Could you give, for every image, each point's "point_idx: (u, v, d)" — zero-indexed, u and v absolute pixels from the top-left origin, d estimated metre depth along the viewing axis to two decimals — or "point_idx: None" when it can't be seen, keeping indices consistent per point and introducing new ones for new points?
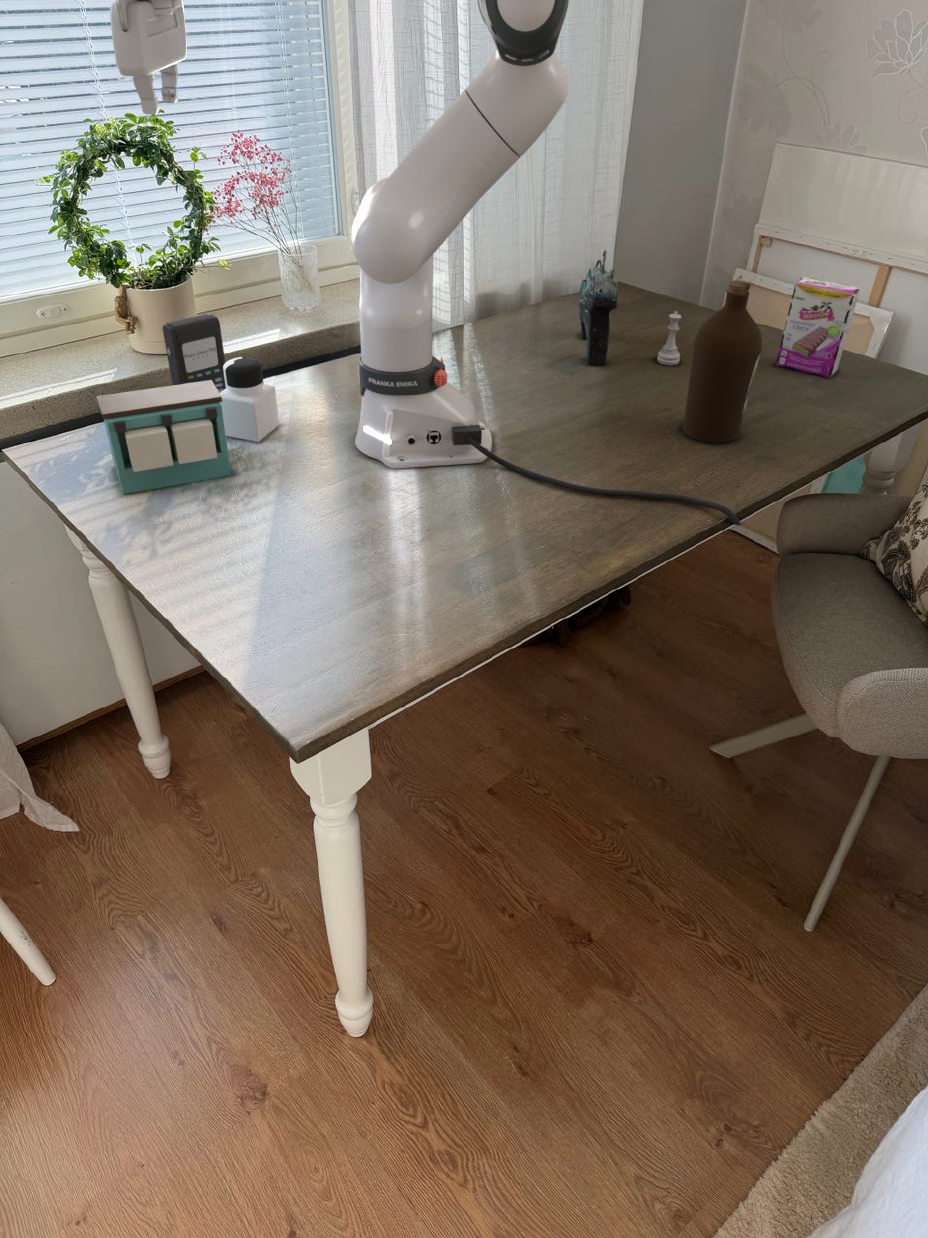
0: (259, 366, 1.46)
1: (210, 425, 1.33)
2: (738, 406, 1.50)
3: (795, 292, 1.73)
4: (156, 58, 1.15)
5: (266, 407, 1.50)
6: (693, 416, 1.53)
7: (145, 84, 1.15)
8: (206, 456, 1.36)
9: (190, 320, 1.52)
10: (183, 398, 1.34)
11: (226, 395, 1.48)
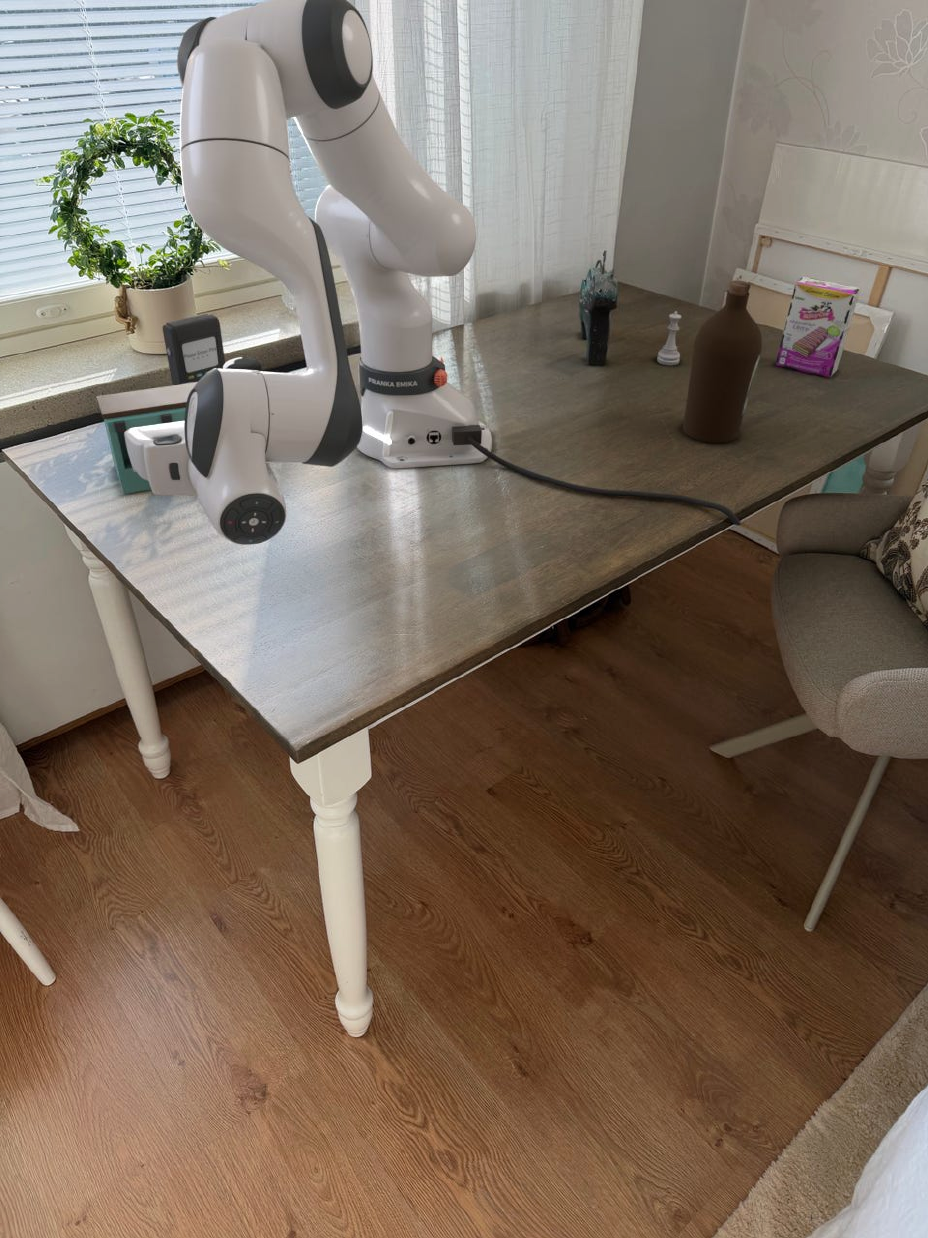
0: (259, 366, 1.46)
1: None
2: (738, 406, 1.50)
3: (795, 292, 1.73)
4: None
5: None
6: (693, 416, 1.53)
7: None
8: None
9: (190, 320, 1.52)
10: (183, 398, 1.34)
11: None
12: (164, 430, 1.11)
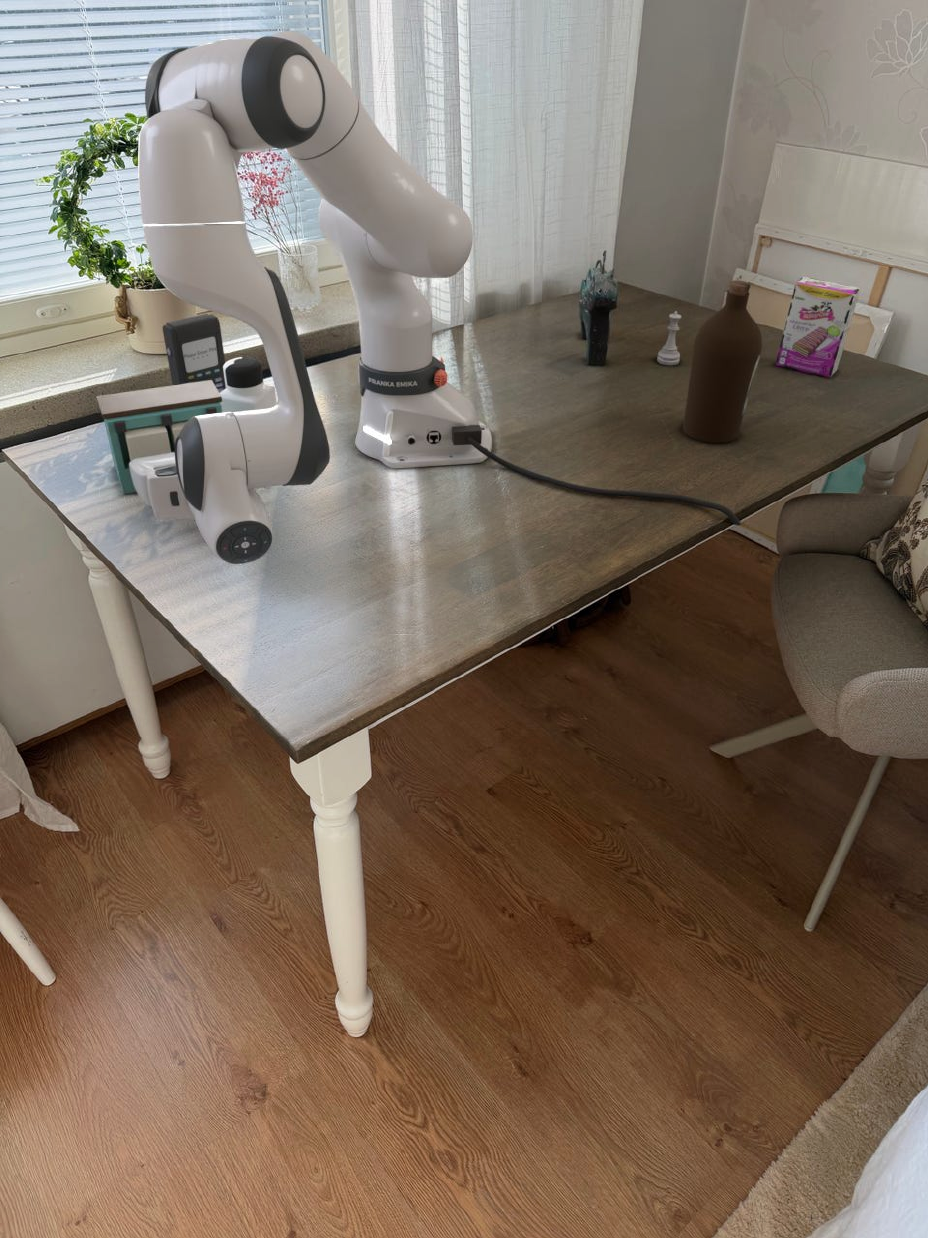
0: (259, 366, 1.46)
1: None
2: (738, 406, 1.50)
3: (795, 292, 1.73)
4: None
5: (266, 407, 1.50)
6: (693, 416, 1.53)
7: None
8: None
9: (190, 320, 1.52)
10: (183, 398, 1.34)
11: (226, 395, 1.48)
12: (164, 460, 1.26)
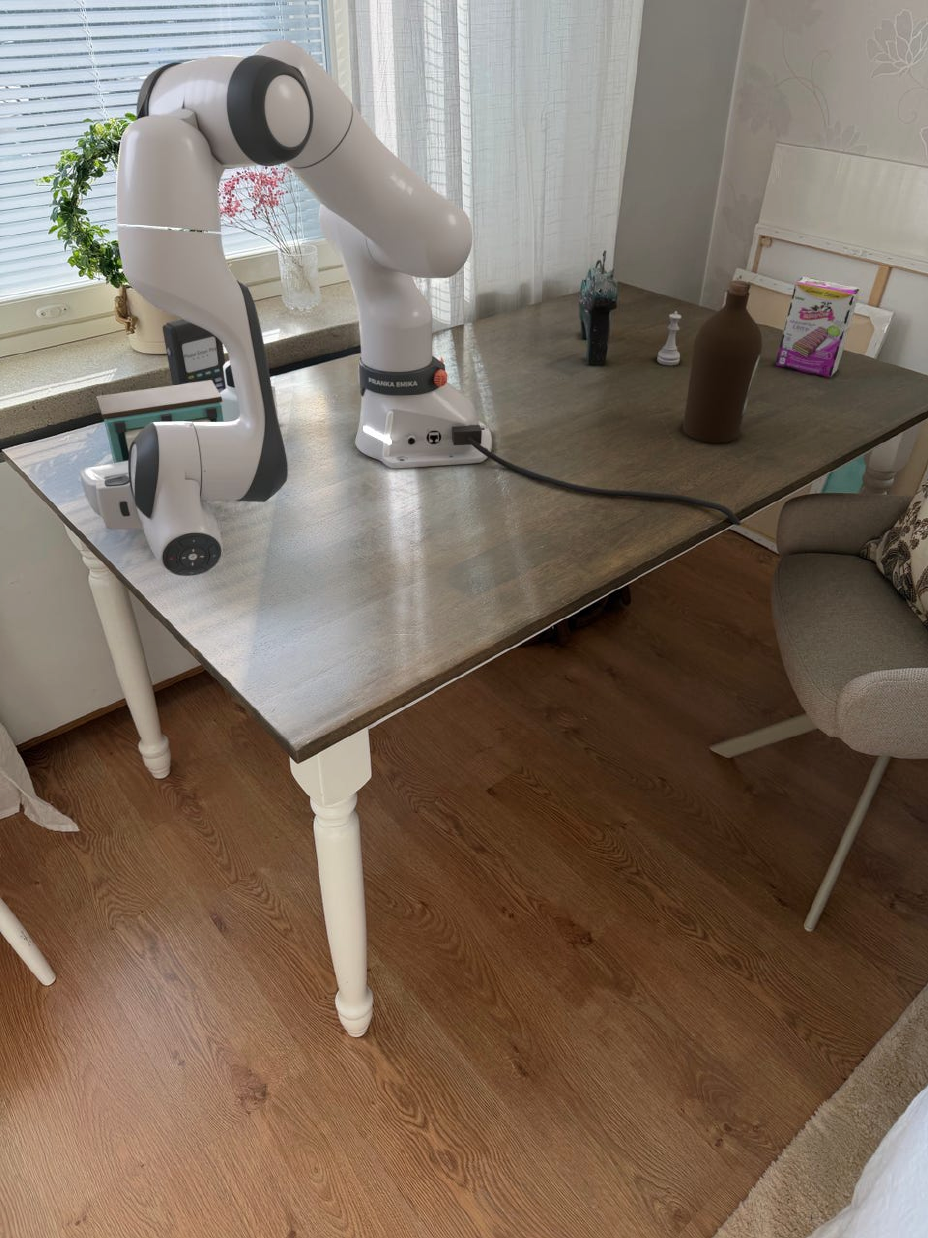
0: None
1: None
2: (738, 406, 1.50)
3: (795, 292, 1.73)
4: None
5: None
6: (693, 416, 1.53)
7: None
8: None
9: None
10: (183, 398, 1.34)
11: (226, 395, 1.48)
12: (116, 469, 1.24)
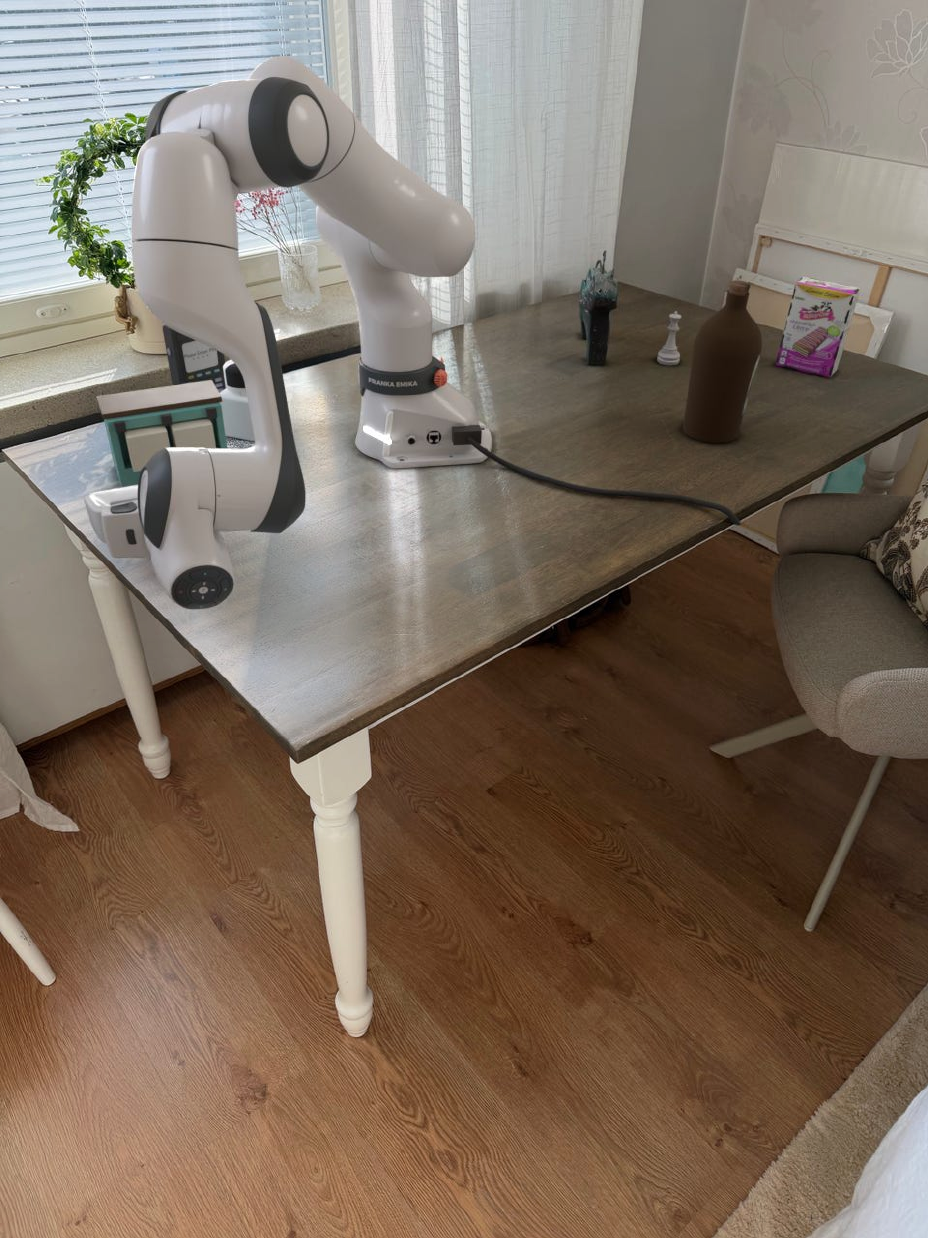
0: None
1: (210, 425, 1.33)
2: (738, 406, 1.50)
3: (795, 292, 1.73)
4: None
5: None
6: (693, 416, 1.53)
7: None
8: None
9: None
10: (183, 398, 1.34)
11: (226, 395, 1.48)
12: (122, 495, 1.18)
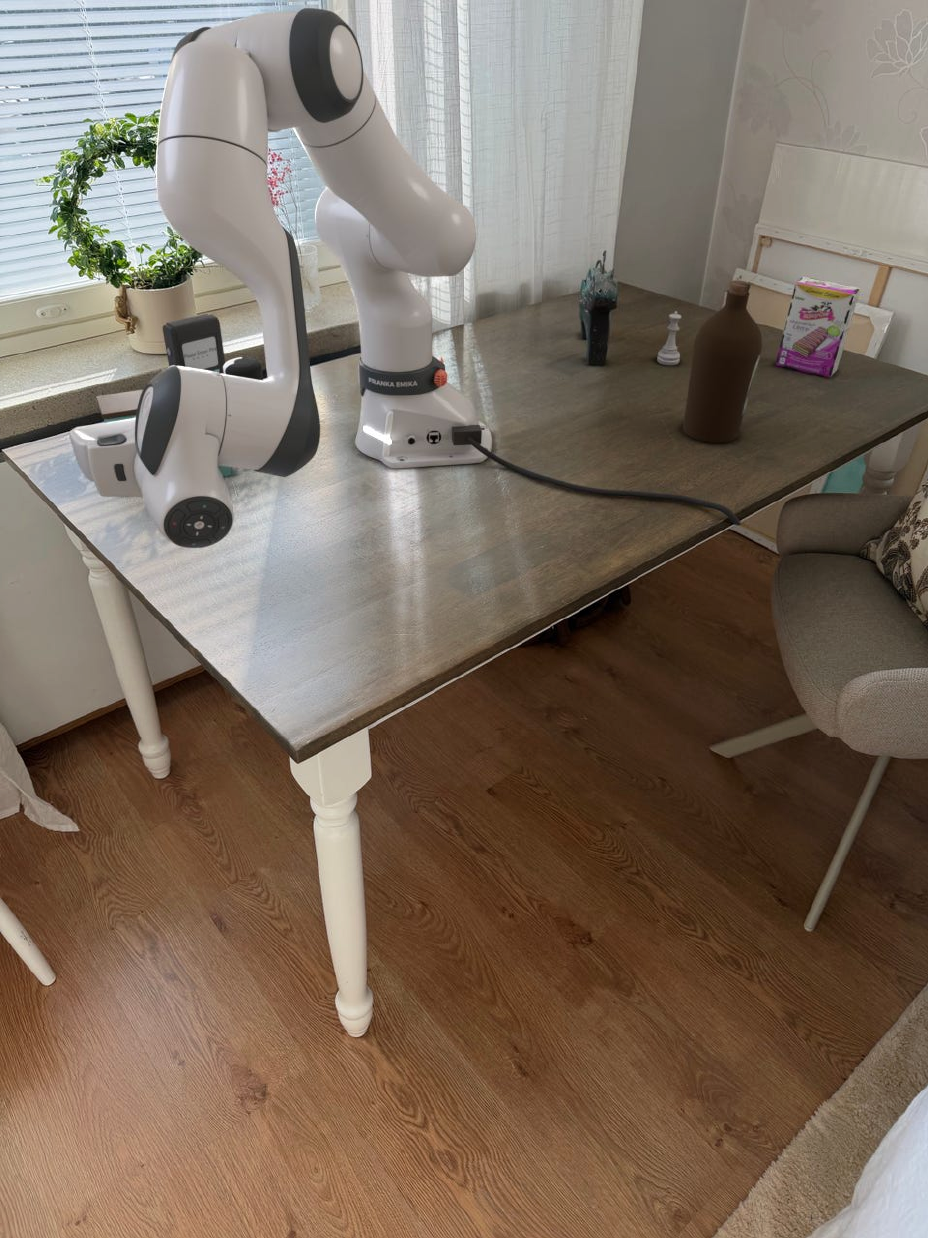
0: (259, 366, 1.46)
1: None
2: (738, 406, 1.50)
3: (795, 292, 1.73)
4: None
5: None
6: (693, 416, 1.53)
7: None
8: None
9: (190, 320, 1.52)
10: None
11: None
12: (110, 429, 1.08)
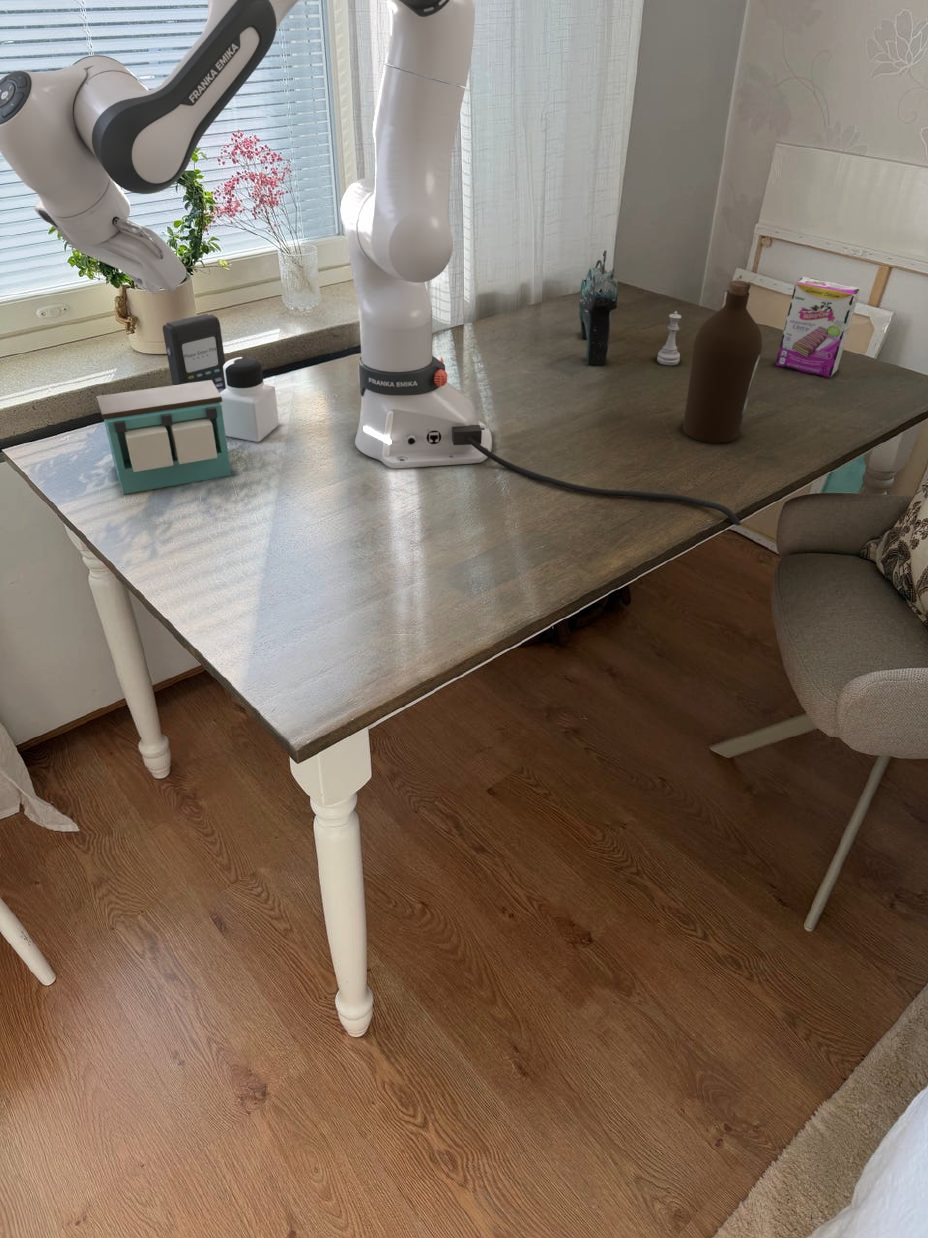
0: (259, 366, 1.46)
1: (210, 425, 1.33)
2: (738, 406, 1.50)
3: (795, 292, 1.73)
4: None
5: (266, 407, 1.50)
6: (693, 416, 1.53)
7: None
8: (206, 456, 1.36)
9: (190, 320, 1.52)
10: (183, 398, 1.34)
11: (226, 395, 1.48)
12: None
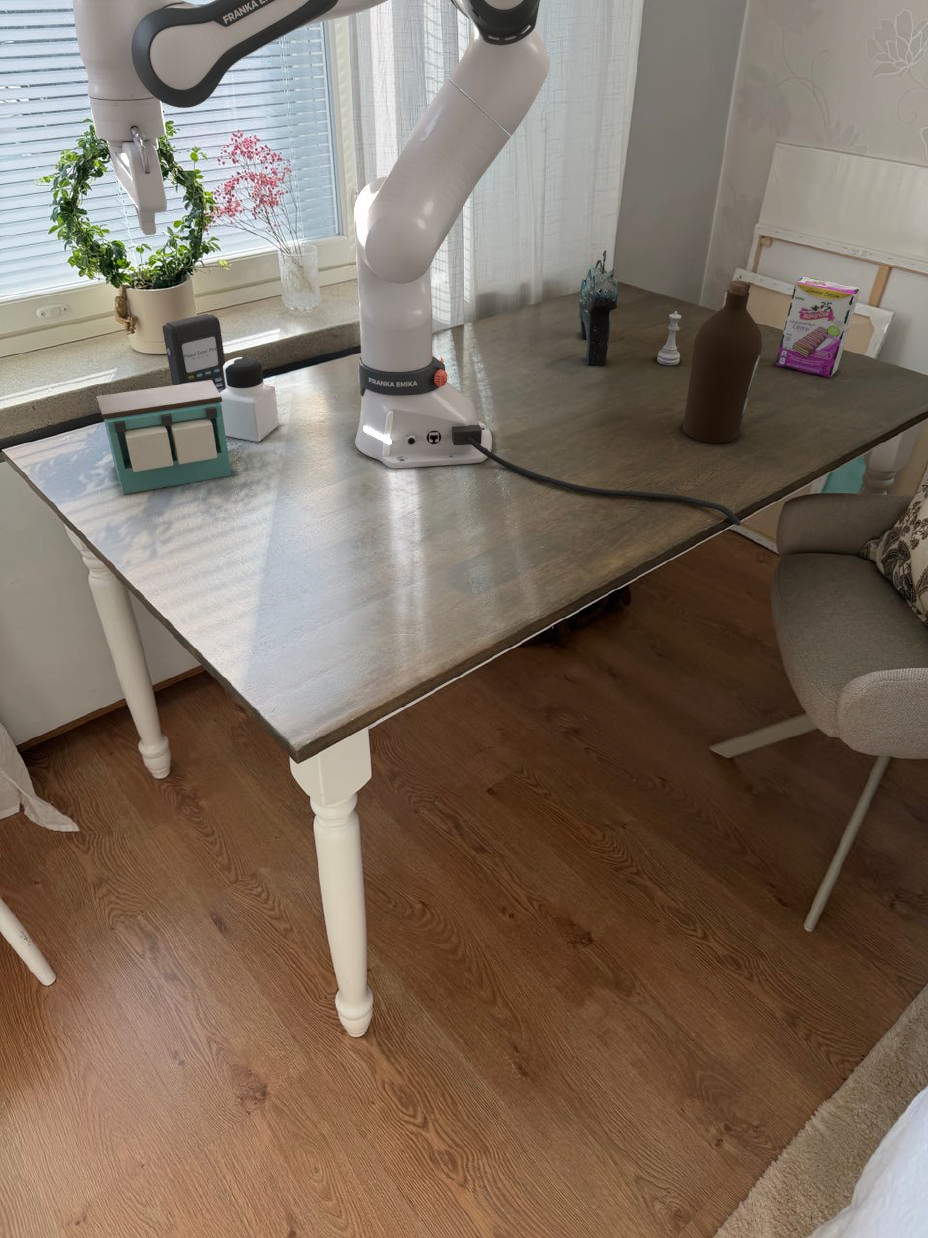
0: (259, 366, 1.46)
1: (210, 425, 1.33)
2: (738, 406, 1.50)
3: (795, 292, 1.73)
4: None
5: (266, 407, 1.50)
6: (693, 416, 1.53)
7: None
8: (206, 456, 1.36)
9: (190, 320, 1.52)
10: (183, 398, 1.34)
11: (226, 395, 1.48)
12: None
